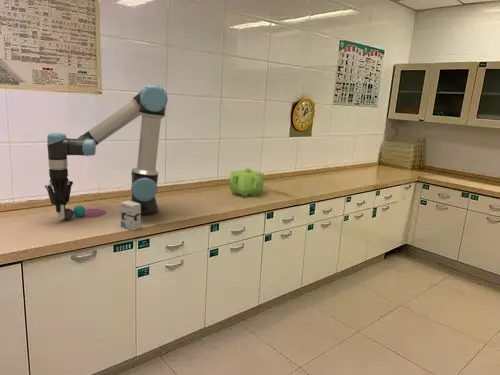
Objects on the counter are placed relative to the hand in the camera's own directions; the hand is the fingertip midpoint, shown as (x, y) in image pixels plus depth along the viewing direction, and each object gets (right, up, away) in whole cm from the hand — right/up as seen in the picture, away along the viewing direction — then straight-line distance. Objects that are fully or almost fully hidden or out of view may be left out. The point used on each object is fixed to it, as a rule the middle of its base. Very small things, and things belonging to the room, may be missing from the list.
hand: (61, 218), depth 175 cm
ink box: (+32, -4, -1) cm, 33 cm away
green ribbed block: (+85, +9, +73) cm, 112 cm away
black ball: (+1, +2, +3) cm, 4 cm away
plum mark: (+7, +1, +15) cm, 17 cm away
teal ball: (+4, +3, +9) cm, 10 cm away
